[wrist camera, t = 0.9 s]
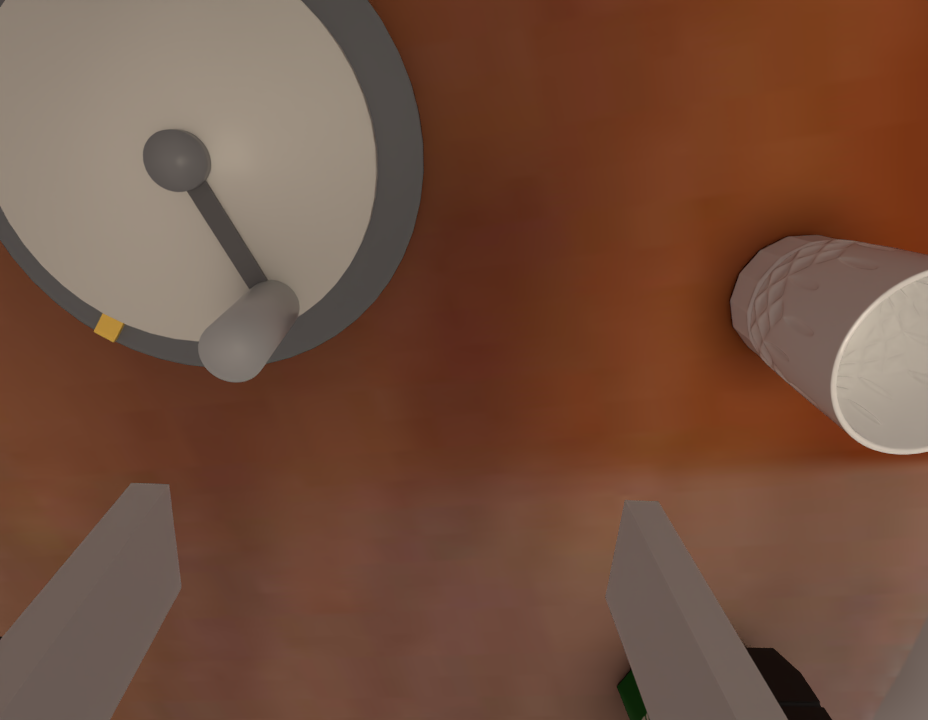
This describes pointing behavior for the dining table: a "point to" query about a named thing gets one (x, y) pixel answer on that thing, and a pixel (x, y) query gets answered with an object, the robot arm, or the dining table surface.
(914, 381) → the white cup
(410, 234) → the stand base
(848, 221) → the dining table surface
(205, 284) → the cream crank wheel
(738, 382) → the dining table surface
